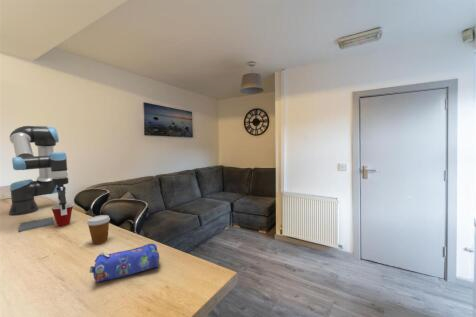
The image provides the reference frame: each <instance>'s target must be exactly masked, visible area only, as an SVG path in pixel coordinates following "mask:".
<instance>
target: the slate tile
mask: <svg viewBox="0 0 476 317" xmlns="http://www.w3.org/2000/svg"><path fill="white" fill-rule="evenodd" d="M53 225H55V223H54V217H53V216H49V217H46V218H40V219H39V218H38V219H34V220H29V221H23V222H20V223H19V227H18V233H21V232H25V231H29V230H35V229H39V228H44V227H49V226H53Z"/></svg>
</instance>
